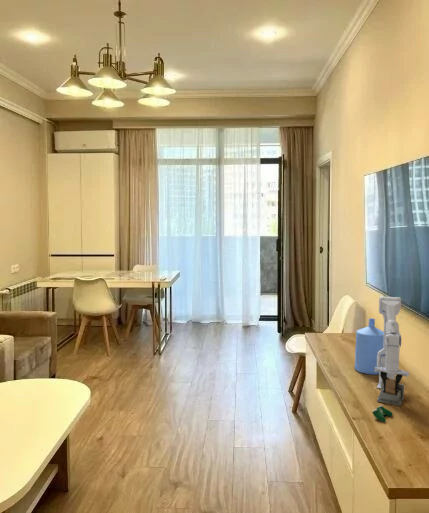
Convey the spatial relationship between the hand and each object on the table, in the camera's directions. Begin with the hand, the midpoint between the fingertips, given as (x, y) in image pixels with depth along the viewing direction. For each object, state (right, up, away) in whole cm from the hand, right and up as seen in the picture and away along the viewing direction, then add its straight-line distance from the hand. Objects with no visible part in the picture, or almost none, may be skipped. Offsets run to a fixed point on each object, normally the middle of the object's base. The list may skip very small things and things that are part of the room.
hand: (390, 389), depth 228 cm
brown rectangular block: (0, -3, 0) cm, 3 cm away
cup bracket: (0, -5, 0) cm, 5 cm away
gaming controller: (-10, -7, -19) cm, 23 cm away
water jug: (+4, -1, +43) cm, 43 cm away
